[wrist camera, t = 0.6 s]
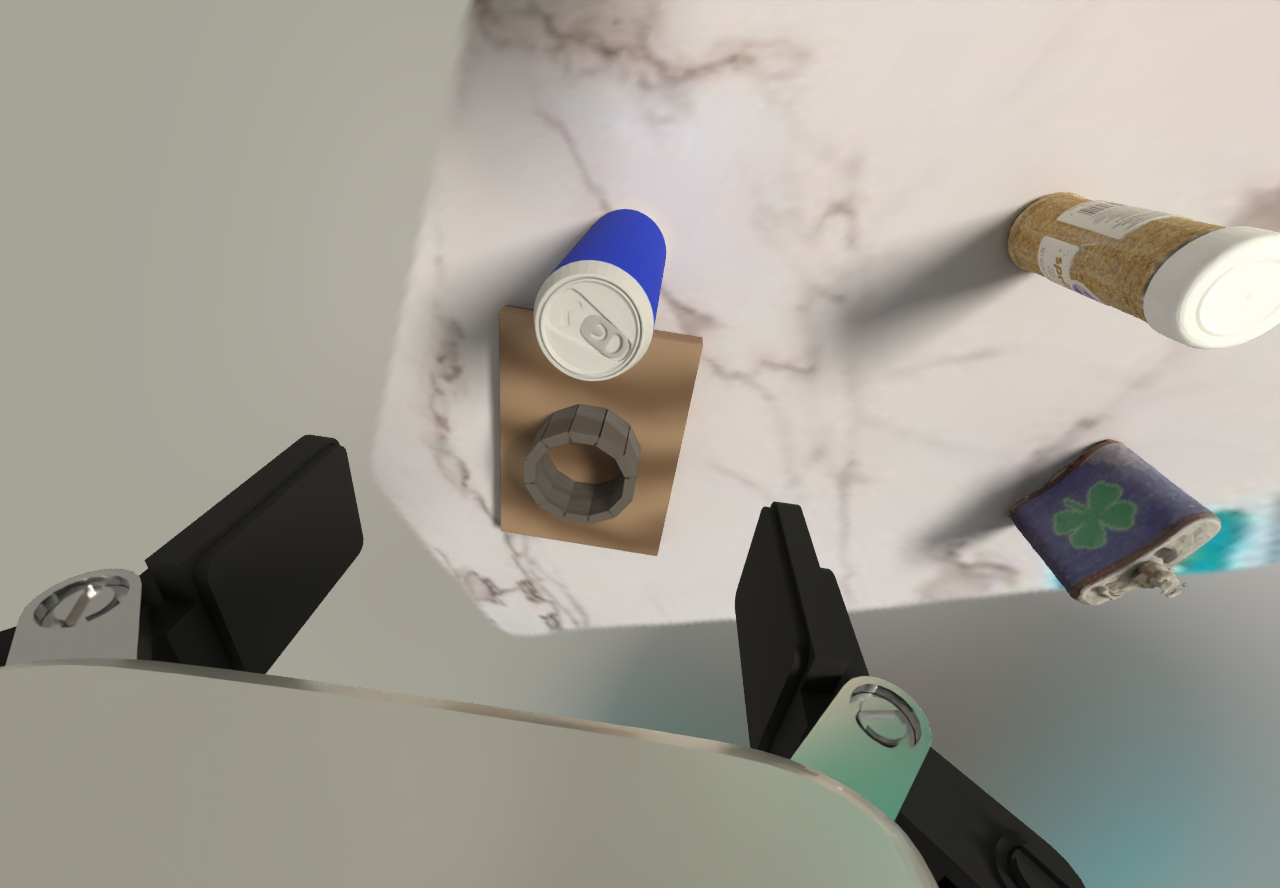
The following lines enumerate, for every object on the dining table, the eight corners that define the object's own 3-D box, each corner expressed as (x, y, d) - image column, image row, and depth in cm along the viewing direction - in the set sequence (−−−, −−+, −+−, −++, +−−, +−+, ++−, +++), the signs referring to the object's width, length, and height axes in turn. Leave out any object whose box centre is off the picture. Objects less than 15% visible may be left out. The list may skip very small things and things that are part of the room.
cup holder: (505, 305, 37) (479, 333, 32) (702, 337, 37) (704, 369, 32) (506, 519, 47) (486, 563, 43) (658, 544, 47) (654, 590, 43)
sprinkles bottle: (989, 261, 33) (1148, 339, 21) (1033, 182, 30) (1239, 222, 19) (1058, 277, 33) (1253, 363, 21) (1107, 200, 30) (1356, 250, 19)
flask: (1107, 432, 38) (1237, 531, 29) (1133, 451, 39) (1268, 554, 30) (999, 513, 43) (1083, 620, 34) (1025, 528, 43) (1113, 638, 34)
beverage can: (573, 258, 35) (505, 341, 22) (616, 189, 32) (569, 237, 19) (636, 305, 36) (606, 408, 23) (682, 242, 33) (678, 319, 21)
